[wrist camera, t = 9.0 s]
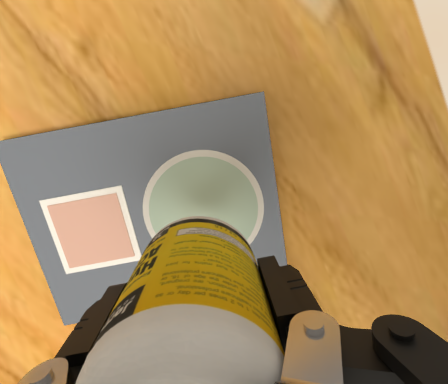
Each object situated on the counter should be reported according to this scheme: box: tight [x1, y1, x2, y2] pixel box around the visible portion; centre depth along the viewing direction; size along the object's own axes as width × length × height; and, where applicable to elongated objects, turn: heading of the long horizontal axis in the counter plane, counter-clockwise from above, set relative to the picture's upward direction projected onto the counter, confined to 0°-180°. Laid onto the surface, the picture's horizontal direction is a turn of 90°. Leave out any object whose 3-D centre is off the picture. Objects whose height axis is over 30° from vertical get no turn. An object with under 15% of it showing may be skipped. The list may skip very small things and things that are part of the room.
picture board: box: [0, 92, 287, 325], centre depth 22 cm, size 20×16×1 cm
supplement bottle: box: [75, 216, 285, 384], centre depth 8 cm, size 5×5×10 cm
